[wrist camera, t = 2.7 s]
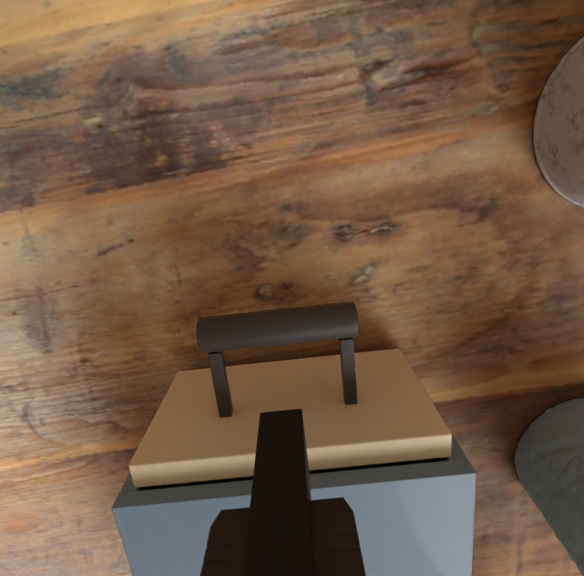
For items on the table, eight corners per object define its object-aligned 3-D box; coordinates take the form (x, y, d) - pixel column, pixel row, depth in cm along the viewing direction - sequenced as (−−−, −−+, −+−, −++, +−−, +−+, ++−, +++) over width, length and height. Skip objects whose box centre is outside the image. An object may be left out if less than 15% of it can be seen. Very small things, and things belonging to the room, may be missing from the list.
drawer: (159, 292, 22) (96, 357, 15) (397, 266, 22) (454, 320, 14) (219, 560, 28) (195, 701, 21) (404, 543, 28) (447, 679, 21)
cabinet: (175, 381, 25) (110, 508, 16) (405, 357, 25) (476, 472, 15) (218, 572, 30) (188, 752, 21) (409, 554, 30) (465, 728, 20)
